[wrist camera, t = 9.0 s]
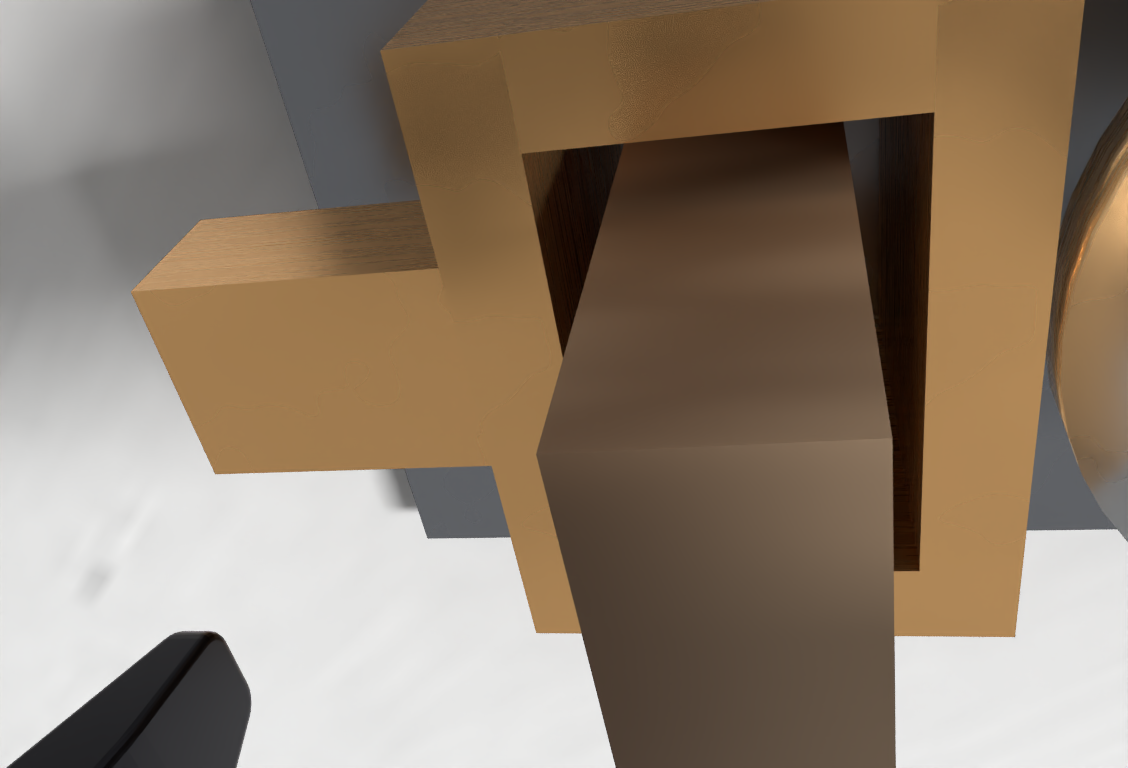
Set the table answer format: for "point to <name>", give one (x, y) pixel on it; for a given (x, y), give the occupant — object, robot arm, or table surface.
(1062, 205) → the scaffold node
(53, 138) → the table surface
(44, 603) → the table surface
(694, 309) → the wedge
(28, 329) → the table surface
